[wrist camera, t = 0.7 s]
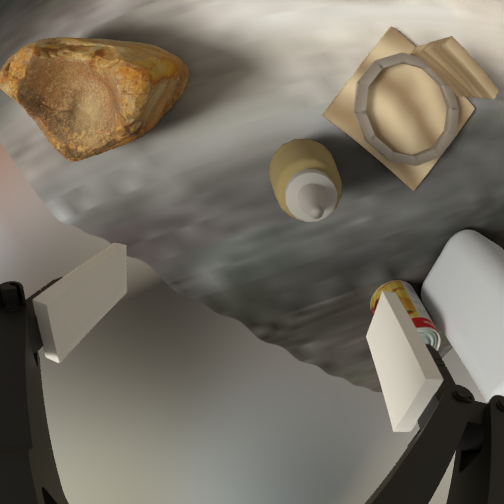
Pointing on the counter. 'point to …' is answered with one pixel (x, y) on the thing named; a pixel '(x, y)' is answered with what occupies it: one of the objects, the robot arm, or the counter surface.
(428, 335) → the canned food
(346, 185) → the counter surface
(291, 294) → the counter surface
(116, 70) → the rough brown rock
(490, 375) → the plastic bottle
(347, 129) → the cup bracket
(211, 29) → the counter surface
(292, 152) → the squeeze bottle
